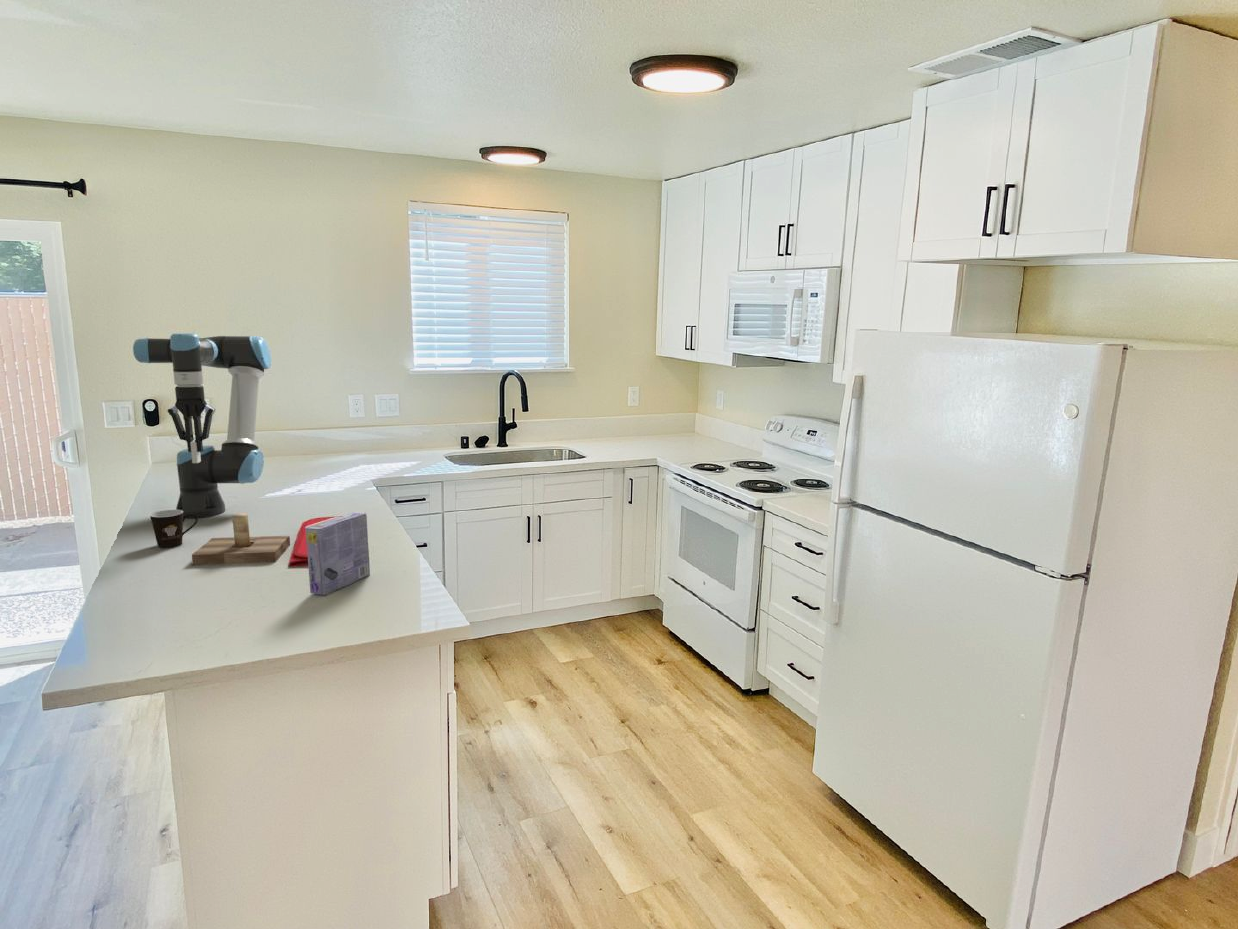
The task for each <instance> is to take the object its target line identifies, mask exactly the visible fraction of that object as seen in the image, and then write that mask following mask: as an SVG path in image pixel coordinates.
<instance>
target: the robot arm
mask: <svg viewBox="0 0 1238 929" xmlns="http://www.w3.org/2000/svg"><path fill="white" fill-rule="evenodd" d="M132 354H133V356H134V358H135V359H136V361H137V362H139V363H144V364H145V363H146V364H172V371H173V379H174V380H173V381H174V385H176V386H175V388H174V391H175V400H176V401H175V403H174V406H172V407H171V408H168V409H167V413H168V414H169V415H170V416H171V418H172V422H173V424H174V427H175V430H176V432H177V436H178V437H179V440H182V441H185V442H186V444H187V445H186V446H187V448H185V449H183V450H182V449H181V450H180V451H178V452H177V454H176V466H177V477H178V485H179V496H178V501H177V504H176V507H175V510H181V511H183V517H184V516H185V515H187V514H194V515H196V516H197V519H198V518H207V517H212V516H216V515H219V514H222V513H224V512H225V511H226V504H225V501H224V499H223V497H222V495H221V493H220V491H219V485H218V484H240V485H241V484H242V485H243V484H253V483H255V482H258V480H259V479H260V477H261V476H262V473H263V470H264V463H265V461H264V453H263V451H261V450H259V446H258V444H257V443H256V442H255V435H256V434H255V433H256V422H257V420H256V419H257V407H258V406H257V405H258V396H259V395H258V394H259V379H260V378H262V377H263V376H264V374H265V370H268V369H270V368H271V366H272V358H271V357H272V356H271V351H270V348H269V344H268V343H267V342H266V340H265V339H264V338H263V337H260V336H253V335H248V336H247V335H246V336H242V335H241V336H236V335H235V336H234V335H233V336H232V335H229V336H228V335H227V336H226V335H218V336H208V337H200V336H199V335H198V334H197V333H187V332H186V333H184V332H183V333H172V334H171V335H170V336H169V338H148V337H145V338H144V337H143V338H137V339H135V341H134V343H133V345H132ZM202 366H203V367H209V368H217V369H227V372H228V373H229V374H230V375H231V389H230V400H229V412H228V424H227V436H226V440H225V441H223V442H222V443H221V448H220V450H219V449H218V450H216V448H215V447H214V445H204V444H203V441H204V440H206V439H209V437H210V433H211V432H210V431H211V425H212V419H213V416H214V414H215V412H216V408H215V407H211V406H210V405H208V402H206V400H205V389H204V388H205V387H204V386H203V384H204V378H203V368H202ZM179 412H180V413H181V415H182V416H183V421H182V419H181V416H180V414H179ZM203 412H204V413H205V414H204V415H205V416H204V420H203V426H202V414H203ZM183 422H184V425H183ZM193 429H194V430H193ZM187 518H188V519H193V518H195V517H194V516H188V517H186V518H185V519H187Z"/></svg>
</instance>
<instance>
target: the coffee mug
mask: <svg viewBox="0 0 1238 929" xmlns="http://www.w3.org/2000/svg"><path fill="white" fill-rule="evenodd" d="M188 516H194V517H195V521H194V523H193V524H192V525H190V526H189V527H188V528H187V529H185V530H184V529H183V528H184V522H185V520H186V519H187V518H186V517H188ZM149 517H150V520H151V521H150V522H151V524H152V525H151V526H152V529H153V533H154V536H155V540H156V544H157V547H158V549H172V548H178V547H180V546H183V536H184V534H186V533H187V532H189V531H190V530H191V529H193V528H194V527H195V526H196V524H197V523H198V518H197V516H196V515H194V514H187V515H185V516H184V517H183V511H181V510H176V509H167V510H166V509H165V510H160V511H155V512H152V513H150V514H149ZM183 530H184V531H183Z"/></svg>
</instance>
